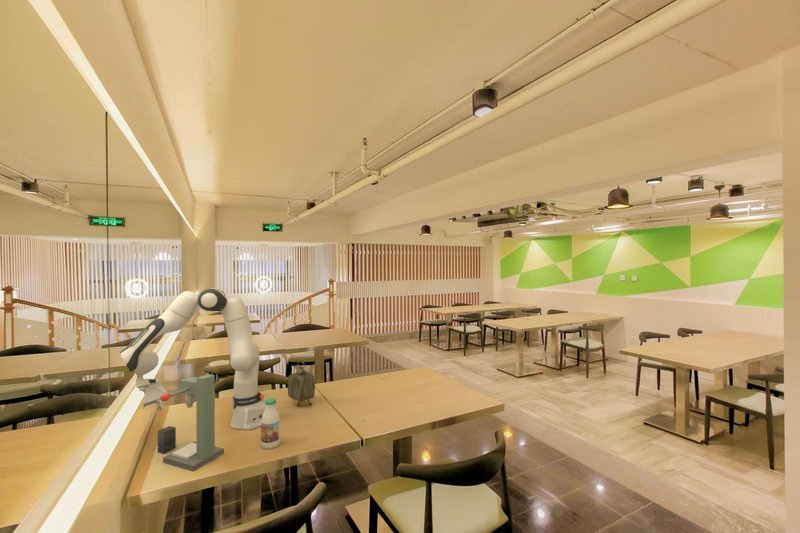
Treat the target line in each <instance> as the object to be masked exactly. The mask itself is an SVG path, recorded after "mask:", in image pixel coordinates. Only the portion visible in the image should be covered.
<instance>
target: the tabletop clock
mask: <svg viewBox="0 0 800 533" xmlns="http://www.w3.org/2000/svg"><path fill="white" fill-rule="evenodd" d="M299 363H302V364H303V366H302V365H299ZM305 366H306V365H305V362H304V361H303V360H298V361H297V367H298V369H297V370H296V372H294V373H291V374H290V375H288V377H287V395H288V397H289V398H290V399H291V400H293V401H297V403H296V407H299V406H300V402H308V406H309V407H311V406H313V404H312V402H310V400H311V399H314V398H315V393H316V382H315V376H314V374H313V373H311V372H309V371H307V370H306V369H305Z"/></svg>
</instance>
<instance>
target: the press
mask: <svg viewBox="0 0 800 533" xmlns="http://www.w3.org/2000/svg"><path fill="white" fill-rule="evenodd" d="M215 376H216V375H215V374H203V375H202V376H197V377H196V376H188V377H186V378H182V379H180V380H179V390H178V391H173V392H172V393H168V392H167V393H164V394H162V395H161V397H160V399H161V401H162V402H167V401H169V400H170V398H172V397H175V396H178V395H181V394H185V395H184V396H185V397H184V398H185V400H184V401H185V402H184V404H185V405H186V407H187V408H193V405H194V404H195V399H196V405H195V406H196V407H195V409H196V440H195V441H193V442H191V443H189V444H187V445H184V446H183V447H181V448H179V449H177V450H175V451H173V452H172V453H169V454H167V455H165V456H164V457H162V463H164V464H167V465H171V466H174V467H177V468H181V469H184V470H186V471H189V472H194V471H196V470H198V469H199V468H202V467H203V466H205V465H207V464H208V463H210V462H211V461H213V460H216V459H217V458H218V457H220V456H221V455H224V453H225V448H224V447H221V446H216V440H215V438H216V437H215V436H216V430H215V429H216V428H215V427H216V425H215V424H216V422H215V421H216V419H215V418H216V417H215V414H216V413H215V412H216V411H215V409H216V408H215V407H216V406H215V403H216V401H215V396H216V395H215V394H216V393H215V390H216V389H215V388H216V387H215V385H216V384H215V383H216V382H215V381H216V380H215ZM195 396H196V398H195Z"/></svg>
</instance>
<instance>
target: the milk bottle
mask: <svg viewBox="0 0 800 533" xmlns="http://www.w3.org/2000/svg"><path fill="white" fill-rule="evenodd" d="M264 400H265V406H266V407H265V411H264V413H263V415H262V420H261V426H260V428H261V430H260V432H261V433H260V438H261V439H260V444H261V445H260V446H261V447H262V449H265V450H270V449H274V448H275V449H276V448H277V447H278V446H279V445H280V444H281V419H280V413H279V411H278V408H277V406H276V404H277V398H276V397H269V398H266V399H264Z"/></svg>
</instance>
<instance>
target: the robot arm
mask: <svg viewBox="0 0 800 533" xmlns="http://www.w3.org/2000/svg"><path fill="white" fill-rule="evenodd" d="M199 310H203V311H206V312H219V313H220V314H222V318H223V322H224V325H225V329H226V334H227V338H228V348H229V357H230V360H229V362H230V366H231V367H232V369H233V370H234V378H233V395H232V408H233V410H232V416H231V421H230V424H229V425H230V427H231V428H232V429H236V430H237V429H238V430H248V431H249V430H252V429H256V428H258V427H261V420H262V415H263V413H264V411H265V407H266V406H265V400H266V399H265V394H263V393H262V392H260V391H259V390H258V388H259V384H258V382H259V381H258V380H259V367H260V347H259V346H258V345H257V344H256V343H255V342H253V341H254V340H253V329H252V326H251V321H250V318H249V313H248V310H247V308H246V305H245V302H244V301H243V299H242V298H241V297H238V296H230V297H227V296H226V293H225V292H224V291H223V290H222V289H219V288H218V287H210V288H207V289H203V290H202V291H201V292H200V293H197V292H194V291H192V290H185V291H183V292H181V293H180V294H179V295H178V296H177V297H176V298H175V299H174V300H173V301H172V302H171V303H170V305H169V306H168V307H167V308H166V309H165V311H163V313H161V314H160V315H159V316H158V317H157V318H155V319H153V320H152V321H151V322H149V323H148V325H146V326H145V327H144V328H143V329H142V330H141V332H139V333H138V334H137V336H136V337H135V338H133V340H132V341H131V342H130V343H129V344H128V345H127V346H126V347H124V348H123V349H122V350H120V351H119V352H120V353H121V357H122V359H123V361H124V363H125V364H126V365H127V367H128V368H129V371H130V372H134V373H136V375H137V379H136V387H137V388H139V390H140V391H143V392H144V394H145V397H144V403H143V405H144V407H143V408H145V407H148V406H150V405H151V406H152V405H153V404H156V405H157V407H156V411H157V412H160V411H162V410H163V409H164V407H163V406H162V402H163V401H161V399H160V397H161V395H162V394H164V393H168V391H167V390H166V388H165V387H164V386H163V384H161V383H159V382H160V381H159V379H158V378H144V375H147V374H149V373H150V372H152V371H153V370H155V369H156V367H158V364H159V355H158V354H157V353H156V352H154V351H152V350H146V349H147V348H148V347H149V346H150V345H151V344H152V343H153V341H154V340H155V339H156V338H158V337H160V336H162V335H165V334H168V333H174V332H177V331H180V330H182V329H183V328H185V327H186V326H187V325H188V324H189V322H190V321H191V319H193V317H194V315H196V313H197V311H199Z"/></svg>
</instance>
